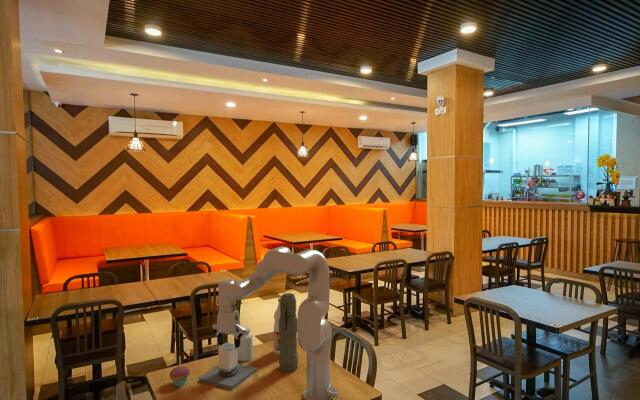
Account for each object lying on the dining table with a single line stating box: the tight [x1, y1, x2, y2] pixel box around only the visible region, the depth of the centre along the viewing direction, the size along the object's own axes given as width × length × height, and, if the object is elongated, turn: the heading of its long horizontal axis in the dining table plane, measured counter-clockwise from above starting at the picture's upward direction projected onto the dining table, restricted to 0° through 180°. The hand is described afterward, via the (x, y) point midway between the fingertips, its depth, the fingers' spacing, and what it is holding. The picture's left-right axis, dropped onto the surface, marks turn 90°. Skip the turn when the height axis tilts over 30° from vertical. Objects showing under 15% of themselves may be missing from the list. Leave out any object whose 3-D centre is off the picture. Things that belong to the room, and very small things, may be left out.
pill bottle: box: [237, 326, 254, 362], centre depth 194 cm, size 8×8×15 cm
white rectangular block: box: [217, 341, 239, 372], centre depth 176 cm, size 6×6×10 cm
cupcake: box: [169, 354, 191, 387], centre depth 169 cm, size 9×8×12 cm
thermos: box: [278, 292, 299, 373], centre depth 183 cm, size 9×12×35 cm
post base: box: [198, 363, 257, 391], centre depth 176 cm, size 18×18×12 cm
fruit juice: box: [273, 297, 281, 356], centre depth 200 cm, size 9×9×28 cm
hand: (228, 345), depth 175 cm, fingers open, 9 cm apart
